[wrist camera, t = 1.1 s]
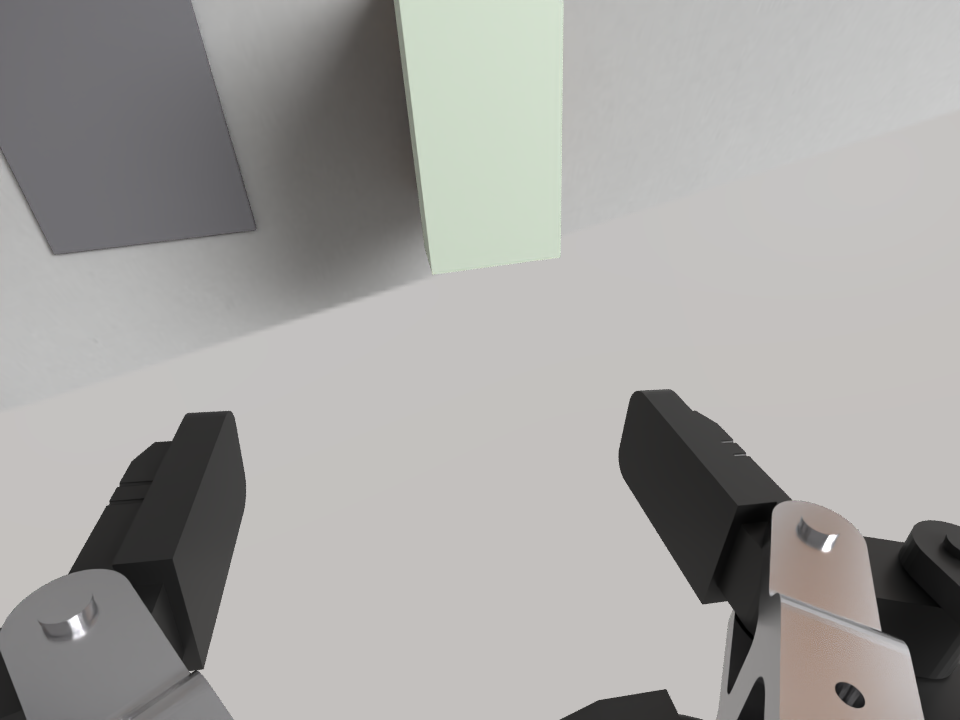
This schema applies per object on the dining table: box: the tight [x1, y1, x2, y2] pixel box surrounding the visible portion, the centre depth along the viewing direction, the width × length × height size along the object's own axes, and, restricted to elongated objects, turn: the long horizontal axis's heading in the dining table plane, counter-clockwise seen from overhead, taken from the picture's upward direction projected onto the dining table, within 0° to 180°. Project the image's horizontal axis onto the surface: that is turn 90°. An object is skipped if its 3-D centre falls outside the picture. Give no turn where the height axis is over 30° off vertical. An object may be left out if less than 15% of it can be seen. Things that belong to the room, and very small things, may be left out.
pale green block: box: [394, 0, 564, 275], centre depth 24 cm, size 12×6×4 cm, turn 4°
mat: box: [0, 0, 257, 254], centre depth 31 cm, size 14×12×1 cm
